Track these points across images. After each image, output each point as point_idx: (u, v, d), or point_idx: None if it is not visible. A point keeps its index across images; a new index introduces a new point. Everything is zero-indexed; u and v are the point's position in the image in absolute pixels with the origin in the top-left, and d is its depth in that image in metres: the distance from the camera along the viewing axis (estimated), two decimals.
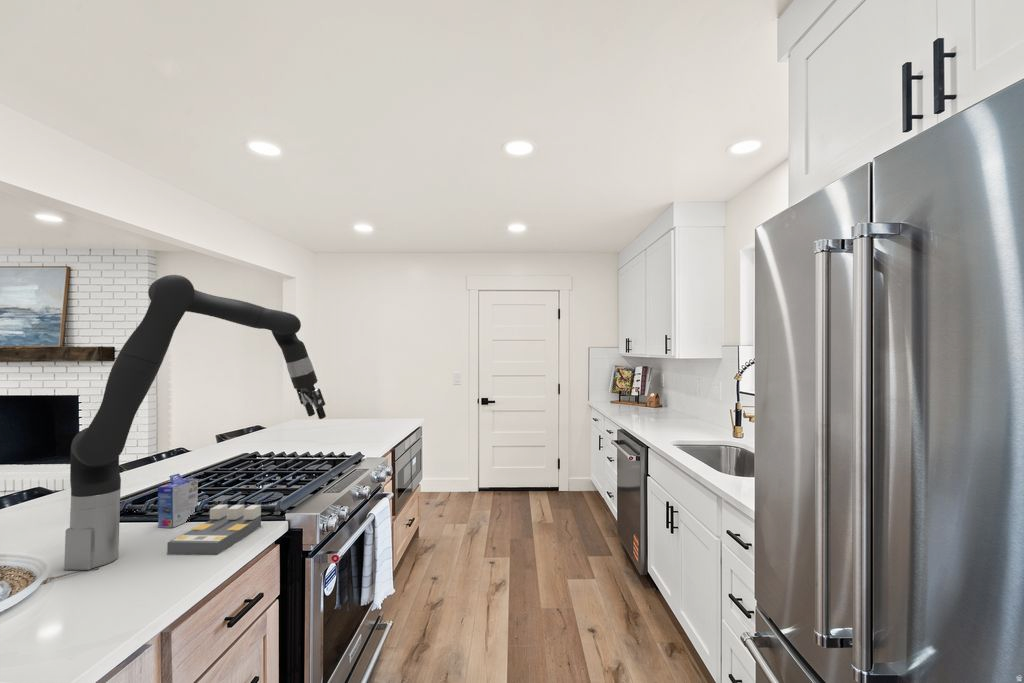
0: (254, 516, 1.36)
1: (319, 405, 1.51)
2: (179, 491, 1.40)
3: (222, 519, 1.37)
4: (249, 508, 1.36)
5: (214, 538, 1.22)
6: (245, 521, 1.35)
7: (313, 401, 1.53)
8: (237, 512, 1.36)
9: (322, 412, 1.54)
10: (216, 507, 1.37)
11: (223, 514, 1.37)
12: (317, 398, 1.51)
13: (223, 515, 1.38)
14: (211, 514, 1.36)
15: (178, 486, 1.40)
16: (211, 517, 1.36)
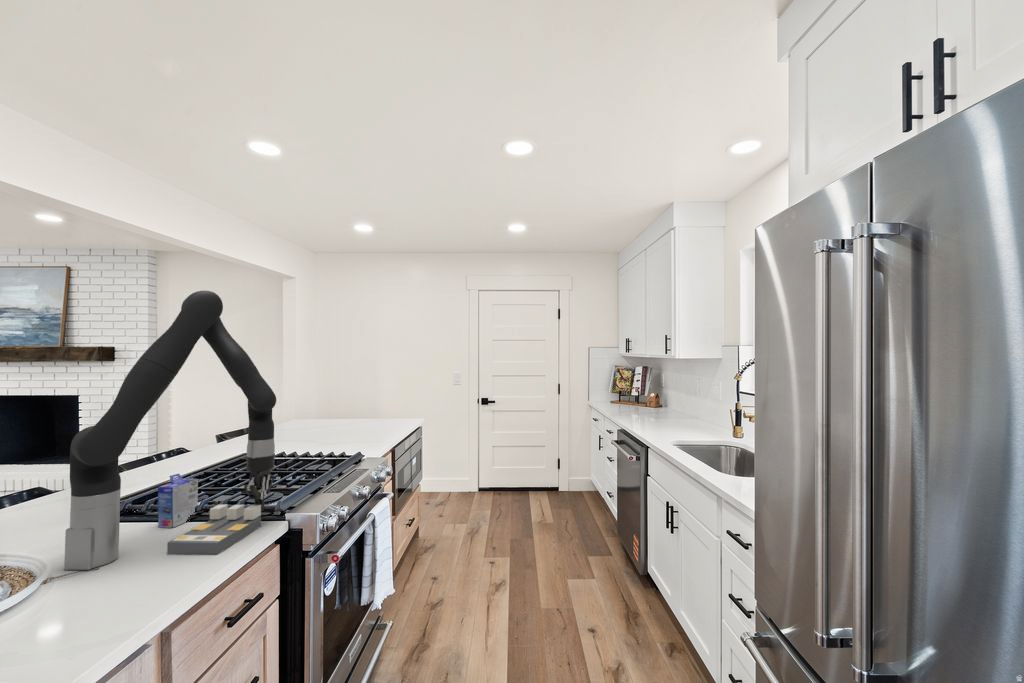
0: (254, 516, 1.36)
1: (251, 496, 1.38)
2: (179, 491, 1.40)
3: (222, 519, 1.37)
4: (249, 508, 1.36)
5: (214, 538, 1.22)
6: (245, 521, 1.35)
7: None
8: (237, 512, 1.36)
9: None
10: (216, 507, 1.37)
11: (223, 514, 1.37)
12: (249, 493, 1.37)
13: (223, 515, 1.38)
14: (211, 514, 1.36)
15: (178, 486, 1.40)
16: (211, 517, 1.36)
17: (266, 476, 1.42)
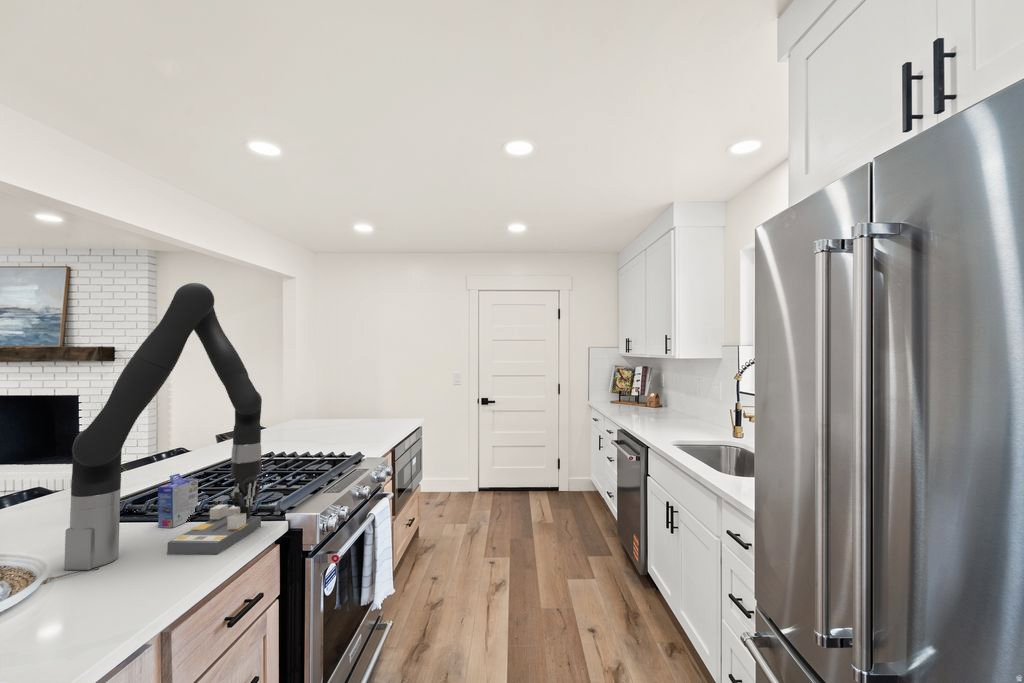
0: (238, 525, 1.29)
1: (236, 504, 1.31)
2: (179, 491, 1.40)
3: (222, 519, 1.37)
4: (234, 516, 1.29)
5: (214, 538, 1.22)
6: None
7: None
8: (237, 512, 1.36)
9: None
10: (216, 507, 1.37)
11: (223, 514, 1.37)
12: (233, 501, 1.30)
13: (223, 515, 1.38)
14: (211, 514, 1.36)
15: (178, 486, 1.40)
16: (211, 517, 1.36)
17: (252, 482, 1.35)
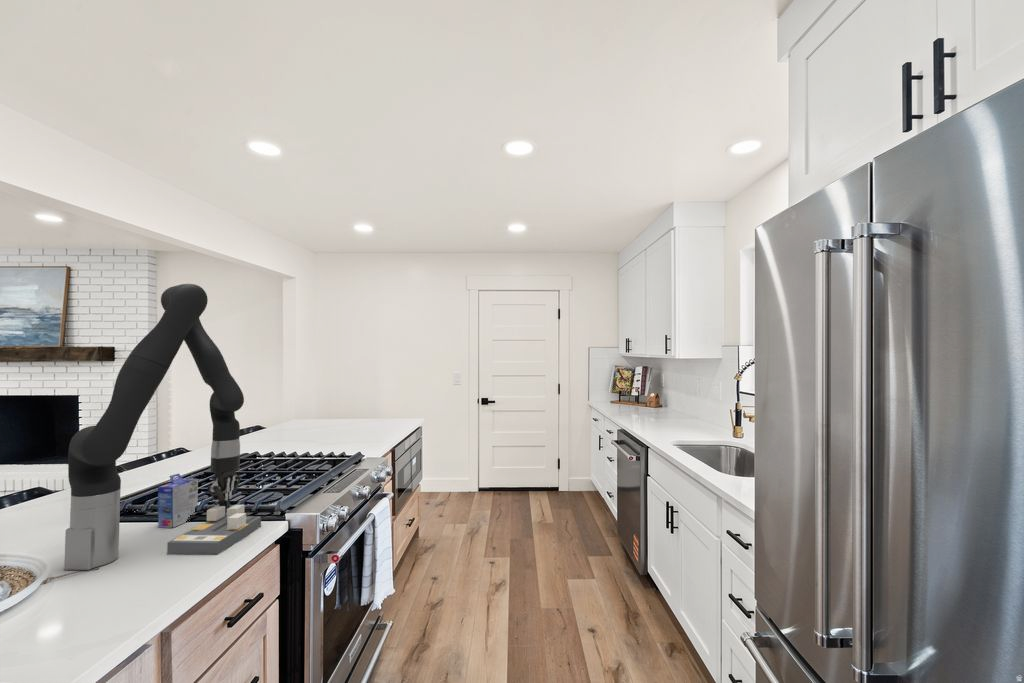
0: (238, 525, 1.29)
1: (215, 497, 1.37)
2: (179, 491, 1.40)
3: (222, 519, 1.37)
4: (233, 516, 1.29)
5: (214, 538, 1.22)
6: None
7: None
8: (237, 512, 1.36)
9: None
10: (213, 508, 1.36)
11: (220, 516, 1.36)
12: (212, 494, 1.36)
13: (221, 517, 1.36)
14: (208, 516, 1.34)
15: (178, 486, 1.40)
16: (208, 519, 1.34)
17: (231, 477, 1.41)
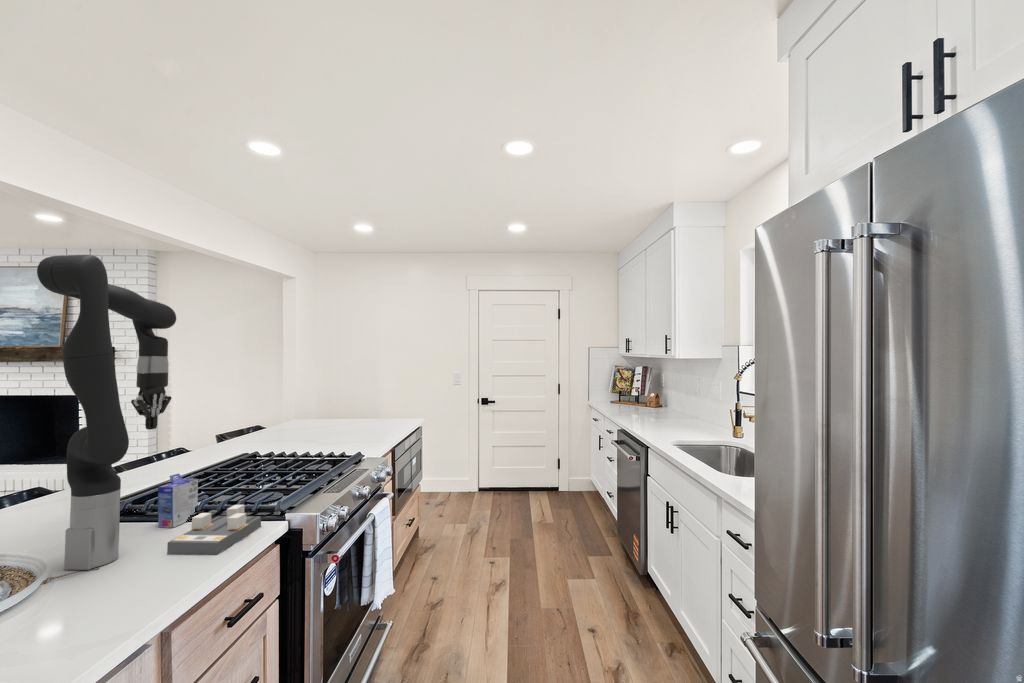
0: (238, 525, 1.29)
1: (140, 413, 1.37)
2: (179, 491, 1.40)
3: (222, 519, 1.37)
4: (233, 516, 1.29)
5: (214, 538, 1.22)
6: None
7: None
8: (237, 512, 1.36)
9: (148, 422, 1.39)
10: (198, 516, 1.29)
11: (206, 523, 1.30)
12: (137, 408, 1.36)
13: (206, 524, 1.30)
14: (193, 523, 1.28)
15: (178, 486, 1.40)
16: (193, 526, 1.28)
17: (159, 394, 1.41)
